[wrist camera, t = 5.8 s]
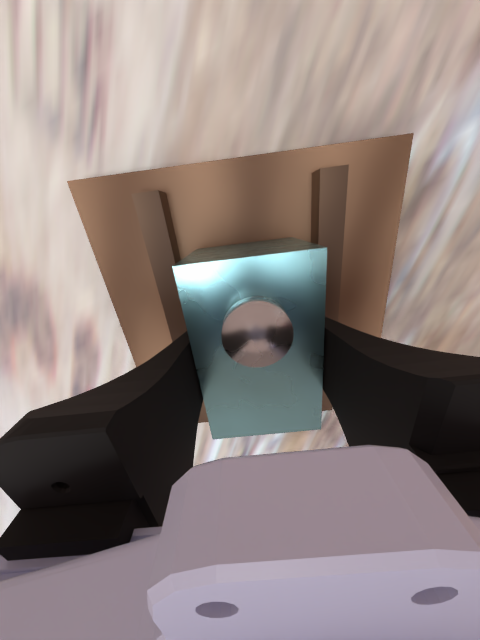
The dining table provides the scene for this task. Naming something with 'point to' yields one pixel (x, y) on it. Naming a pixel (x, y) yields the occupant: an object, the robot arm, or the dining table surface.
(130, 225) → the stand
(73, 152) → the dining table surface
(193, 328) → the block
